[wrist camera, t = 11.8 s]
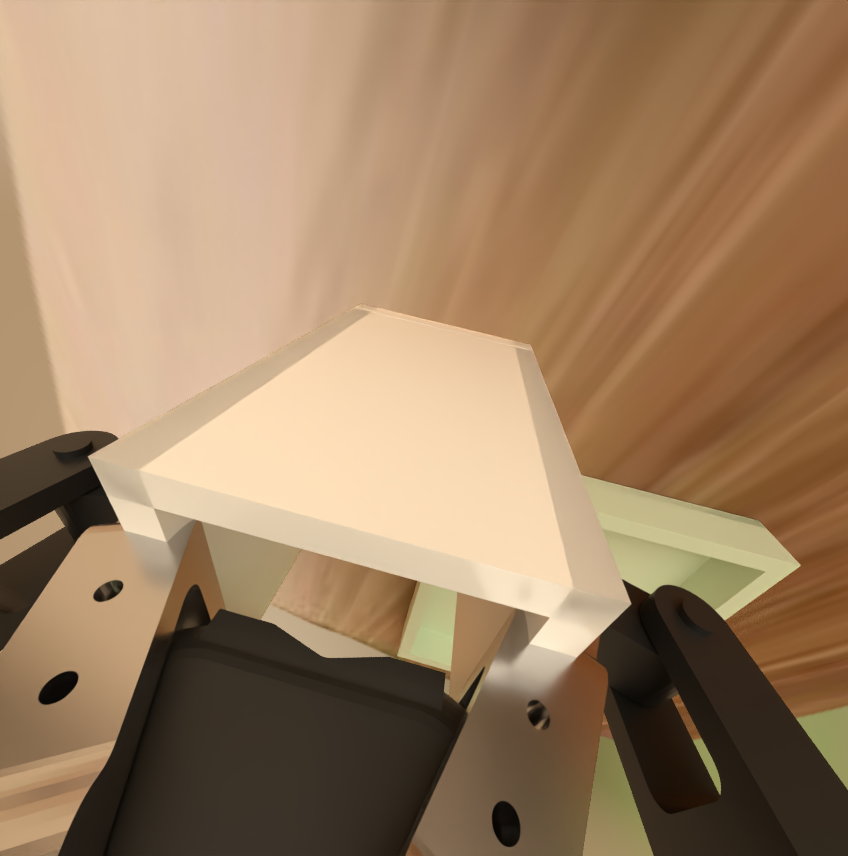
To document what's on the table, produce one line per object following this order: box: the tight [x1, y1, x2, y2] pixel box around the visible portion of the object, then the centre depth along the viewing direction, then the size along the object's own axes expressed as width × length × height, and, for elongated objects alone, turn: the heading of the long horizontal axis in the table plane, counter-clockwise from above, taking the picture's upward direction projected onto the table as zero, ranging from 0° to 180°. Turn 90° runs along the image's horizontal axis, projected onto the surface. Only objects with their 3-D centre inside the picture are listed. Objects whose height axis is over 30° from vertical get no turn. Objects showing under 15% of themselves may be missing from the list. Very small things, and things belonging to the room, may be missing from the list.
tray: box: [397, 475, 801, 671], centre depth 24 cm, size 18×22×3 cm
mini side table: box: [88, 304, 631, 701], centre depth 9 cm, size 6×6×9 cm
